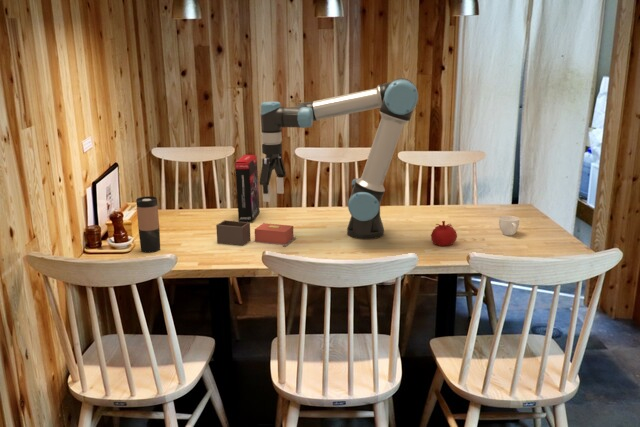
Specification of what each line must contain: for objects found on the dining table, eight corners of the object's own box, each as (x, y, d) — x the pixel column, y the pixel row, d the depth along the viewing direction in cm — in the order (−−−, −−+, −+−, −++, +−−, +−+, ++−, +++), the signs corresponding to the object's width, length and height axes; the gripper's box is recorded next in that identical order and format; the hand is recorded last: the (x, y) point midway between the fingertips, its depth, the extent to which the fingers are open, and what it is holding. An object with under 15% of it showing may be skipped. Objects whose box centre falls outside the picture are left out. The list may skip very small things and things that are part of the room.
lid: (293, 237, 249) (293, 224, 248) (285, 244, 241) (285, 231, 240) (263, 234, 253) (263, 222, 252) (255, 241, 245) (254, 228, 244)
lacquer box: (250, 242, 246) (249, 222, 244) (243, 247, 240) (242, 227, 238) (225, 239, 250) (224, 220, 248) (217, 244, 243) (216, 225, 241)
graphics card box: (252, 223, 272) (250, 161, 265) (237, 223, 273) (234, 161, 265) (259, 212, 288) (258, 154, 281) (245, 212, 289) (242, 154, 282)
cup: (513, 231, 259) (514, 215, 257) (523, 238, 249) (525, 222, 247) (495, 231, 258) (496, 216, 256) (505, 239, 248) (506, 222, 246)
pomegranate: (461, 245, 242) (463, 222, 239) (441, 249, 237) (443, 226, 234) (444, 238, 250) (446, 215, 247) (424, 241, 245) (426, 219, 243)
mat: (295, 238, 250) (295, 237, 250) (285, 246, 240) (285, 245, 240) (263, 235, 255) (263, 234, 255) (252, 243, 245) (252, 242, 244)
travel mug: (162, 246, 242) (159, 196, 237) (158, 252, 235) (154, 201, 229) (143, 246, 242) (138, 196, 236) (138, 253, 234) (133, 201, 229)
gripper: (275, 137, 250) (277, 189, 255) (249, 148, 227) (251, 204, 232) (292, 138, 247) (294, 190, 253) (268, 148, 225) (270, 205, 230)
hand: (273, 197), depth 243 cm, fingers open, 13 cm apart
